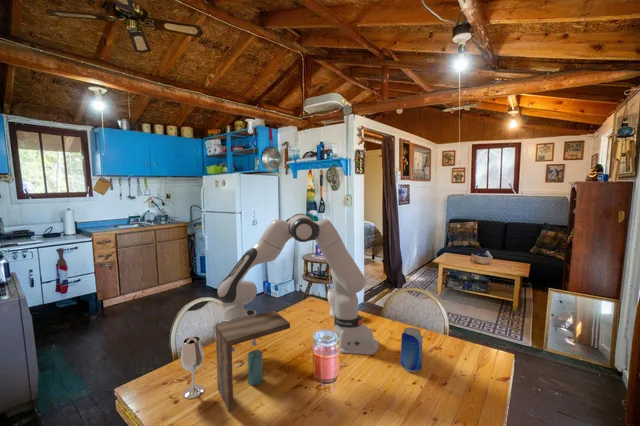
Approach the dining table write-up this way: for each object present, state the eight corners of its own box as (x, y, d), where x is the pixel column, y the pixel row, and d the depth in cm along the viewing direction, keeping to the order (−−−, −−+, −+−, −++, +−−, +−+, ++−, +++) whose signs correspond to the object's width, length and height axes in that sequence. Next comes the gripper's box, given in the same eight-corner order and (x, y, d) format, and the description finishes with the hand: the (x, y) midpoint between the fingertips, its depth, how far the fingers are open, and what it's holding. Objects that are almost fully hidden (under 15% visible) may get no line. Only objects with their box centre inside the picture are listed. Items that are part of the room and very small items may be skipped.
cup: (328, 310, 183) (328, 287, 181) (345, 311, 181) (345, 287, 180) (326, 318, 172) (326, 293, 171) (344, 319, 171) (344, 294, 169)
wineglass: (196, 400, 105) (194, 346, 104) (177, 397, 107) (174, 344, 105) (209, 386, 113) (207, 336, 111) (190, 383, 114) (188, 334, 113)
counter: (217, 388, 111) (215, 324, 109) (274, 367, 125) (273, 310, 122) (228, 412, 100) (227, 341, 98) (290, 386, 113) (289, 323, 111)
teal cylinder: (265, 377, 118) (264, 351, 117) (258, 386, 113) (258, 359, 112) (252, 375, 120) (252, 349, 119) (245, 384, 114) (244, 356, 113)
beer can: (397, 367, 125) (398, 331, 123) (406, 359, 131) (407, 324, 129) (416, 376, 119) (417, 338, 118) (425, 367, 125) (426, 330, 124)
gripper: (213, 320, 125) (220, 353, 118) (258, 309, 137) (267, 339, 129) (210, 326, 129) (217, 358, 122) (255, 315, 141) (263, 344, 133)
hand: (243, 348), depth 126 cm, fingers open, 8 cm apart
